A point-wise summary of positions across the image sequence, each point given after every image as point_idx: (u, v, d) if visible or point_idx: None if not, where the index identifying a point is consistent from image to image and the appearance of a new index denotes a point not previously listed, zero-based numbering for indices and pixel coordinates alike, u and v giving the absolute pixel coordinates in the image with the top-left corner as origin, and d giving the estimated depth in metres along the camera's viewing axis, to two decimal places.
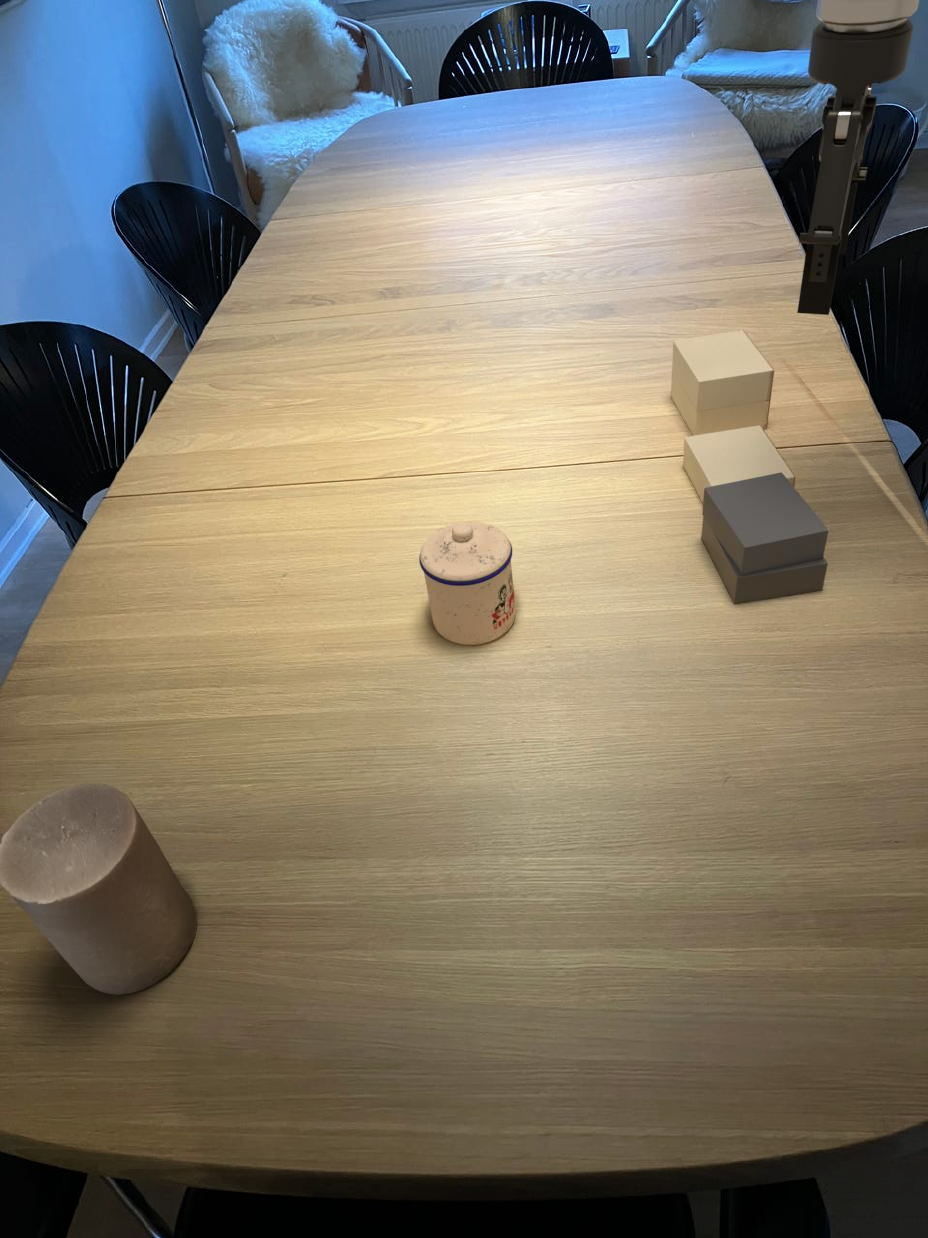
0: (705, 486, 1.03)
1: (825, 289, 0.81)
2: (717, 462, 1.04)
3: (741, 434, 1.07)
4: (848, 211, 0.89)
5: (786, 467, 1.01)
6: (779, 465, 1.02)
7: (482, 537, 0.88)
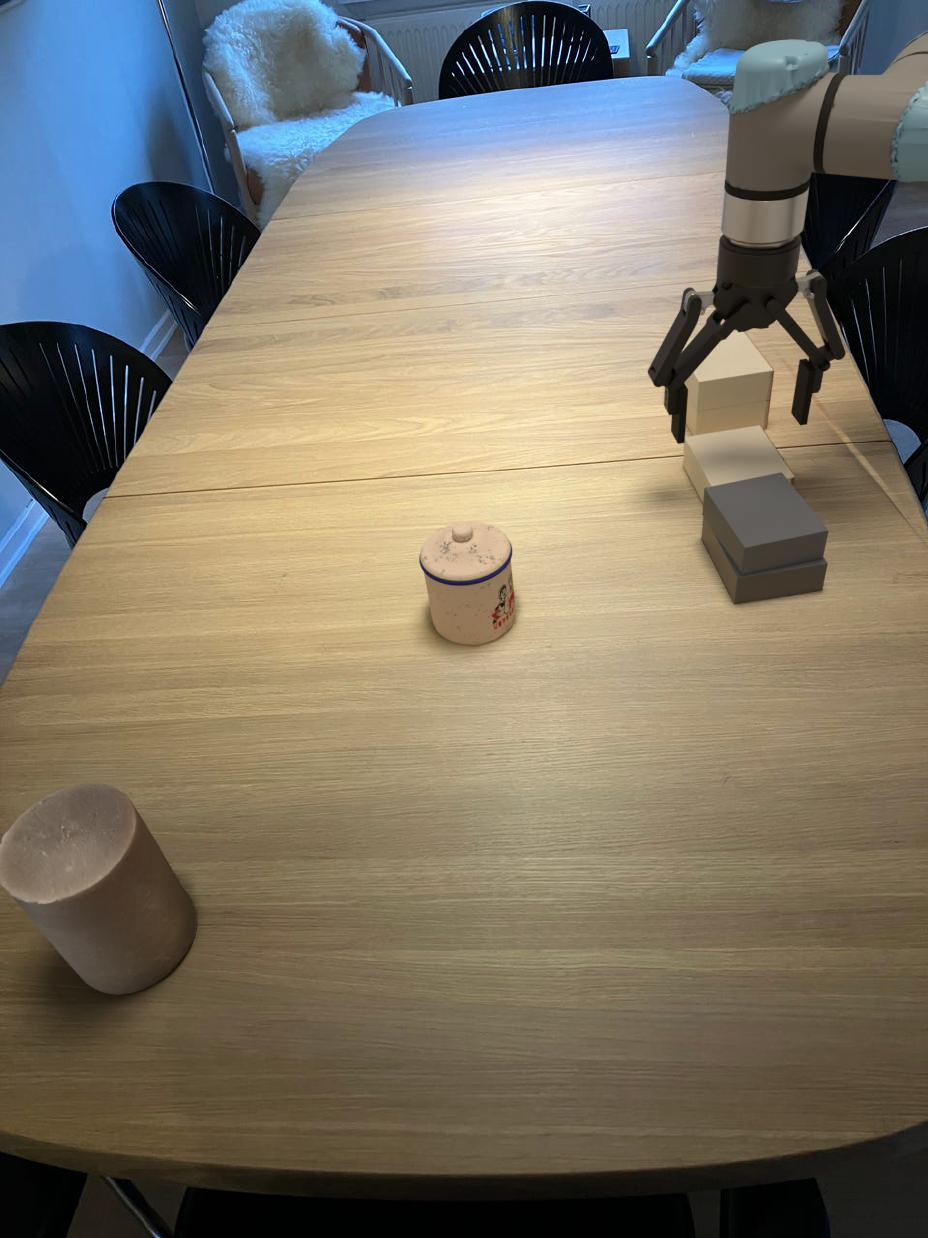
0: (705, 486, 1.03)
1: (677, 422, 1.00)
2: (717, 462, 1.04)
3: (741, 434, 1.07)
4: (804, 390, 0.98)
5: (786, 467, 1.01)
6: (779, 465, 1.02)
7: (482, 537, 0.88)
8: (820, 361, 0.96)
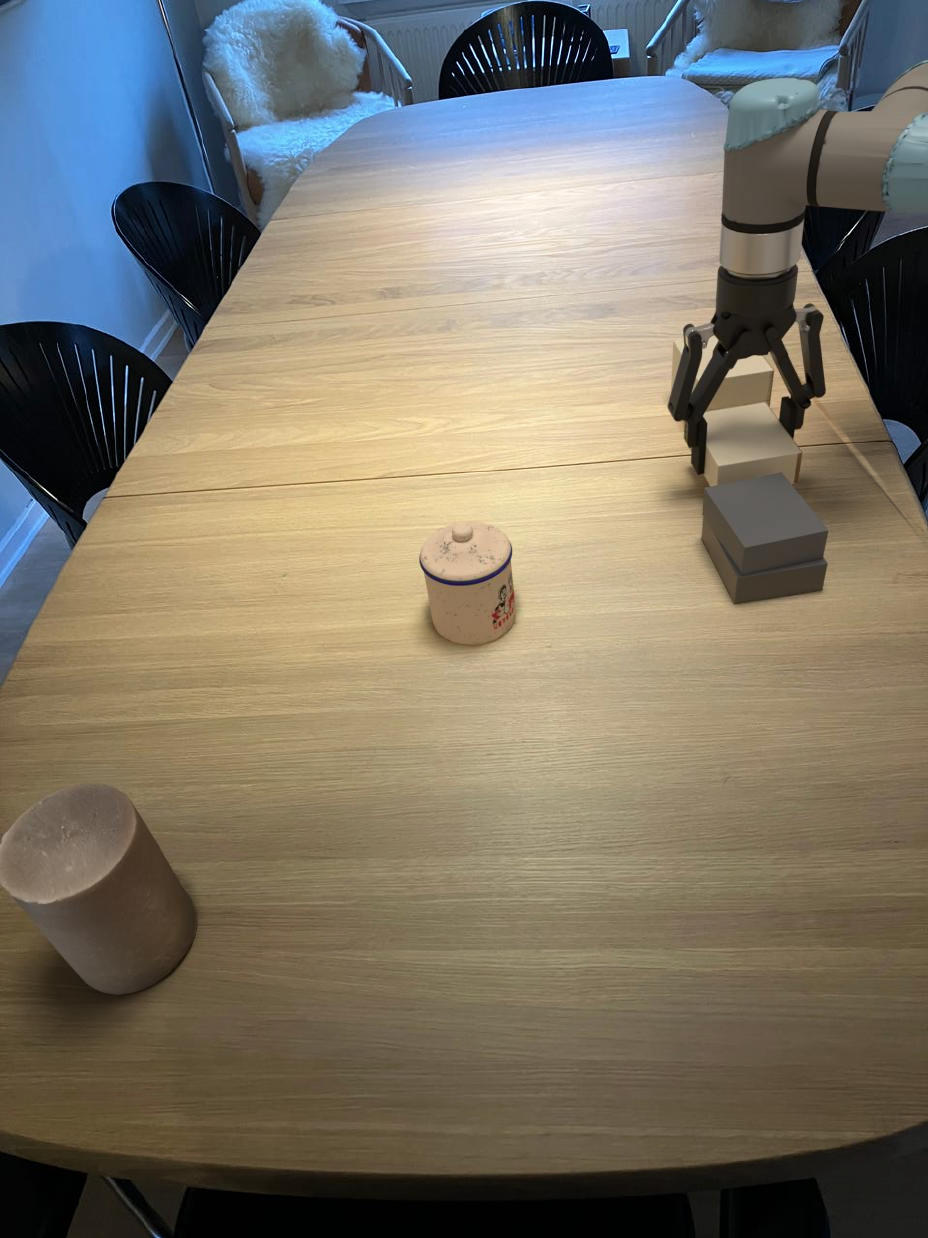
0: (710, 463, 1.00)
1: (697, 454, 1.02)
2: (722, 439, 1.01)
3: (747, 411, 1.05)
4: (787, 427, 1.01)
5: (793, 443, 0.99)
6: (785, 441, 1.00)
7: (482, 537, 0.88)
8: (802, 399, 0.98)
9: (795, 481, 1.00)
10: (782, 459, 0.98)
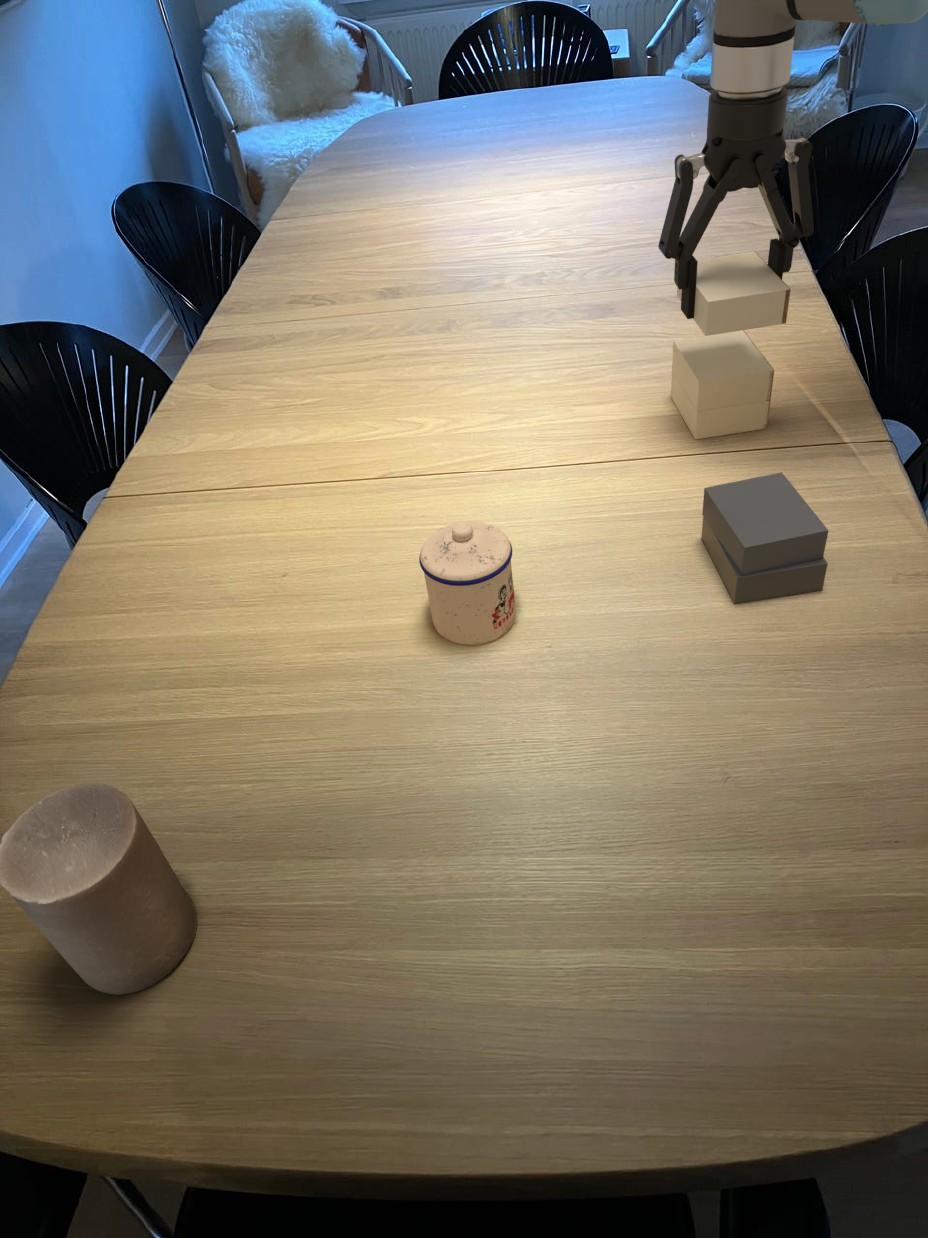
0: (699, 303, 1.02)
1: (687, 297, 1.04)
2: (712, 280, 1.03)
3: (736, 258, 1.06)
4: (775, 269, 1.02)
5: (781, 282, 1.01)
6: (774, 280, 1.01)
7: (482, 537, 0.88)
8: (790, 237, 1.00)
9: (783, 321, 1.02)
10: (770, 296, 1.00)
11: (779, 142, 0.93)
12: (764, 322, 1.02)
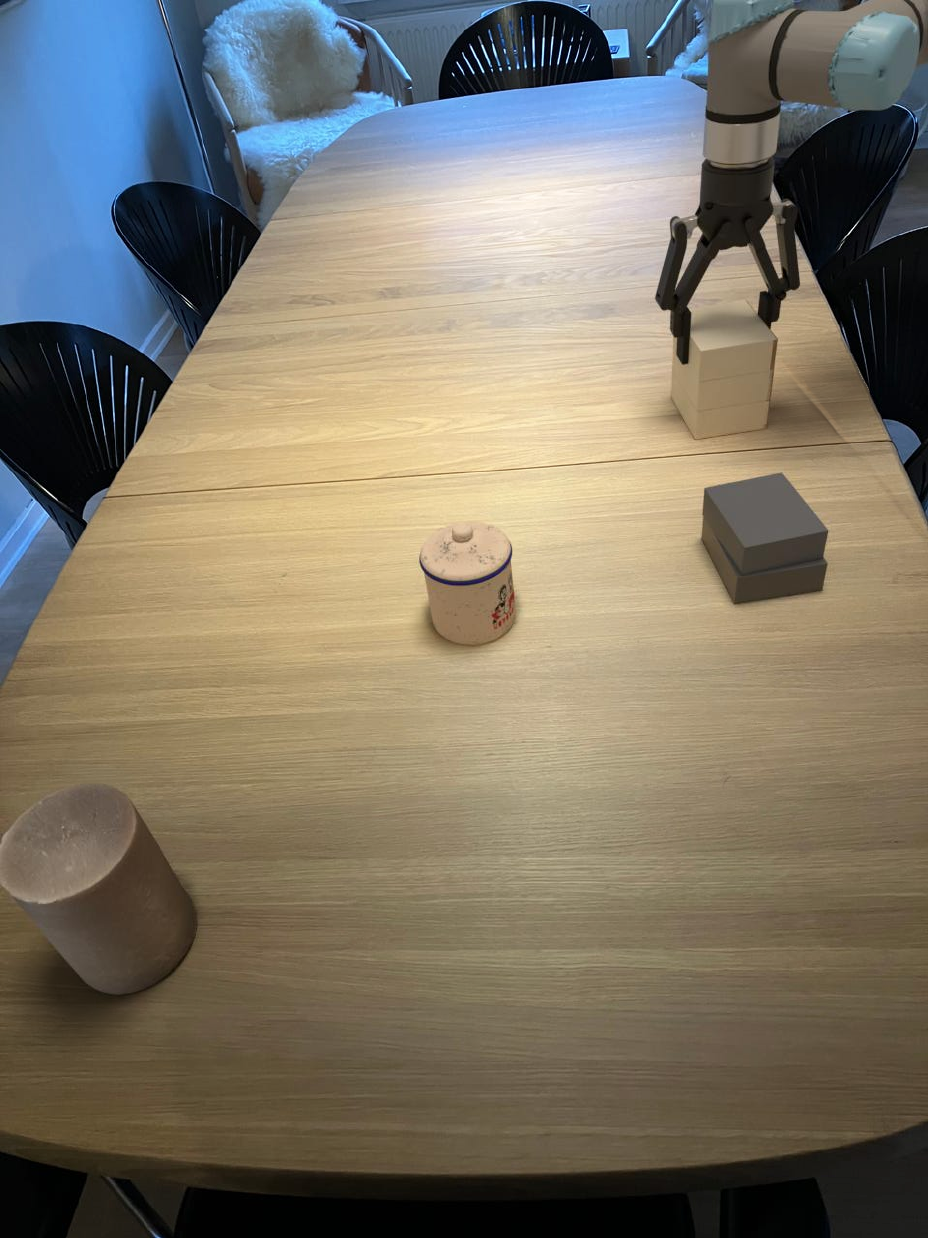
0: (693, 351, 1.09)
1: (681, 344, 1.11)
2: (705, 329, 1.10)
3: (728, 307, 1.13)
4: (764, 319, 1.10)
5: (769, 331, 1.08)
6: (763, 330, 1.08)
7: (482, 537, 0.88)
8: (778, 291, 1.07)
9: (771, 368, 1.09)
10: (759, 345, 1.07)
11: (767, 206, 1.01)
12: (753, 369, 1.09)
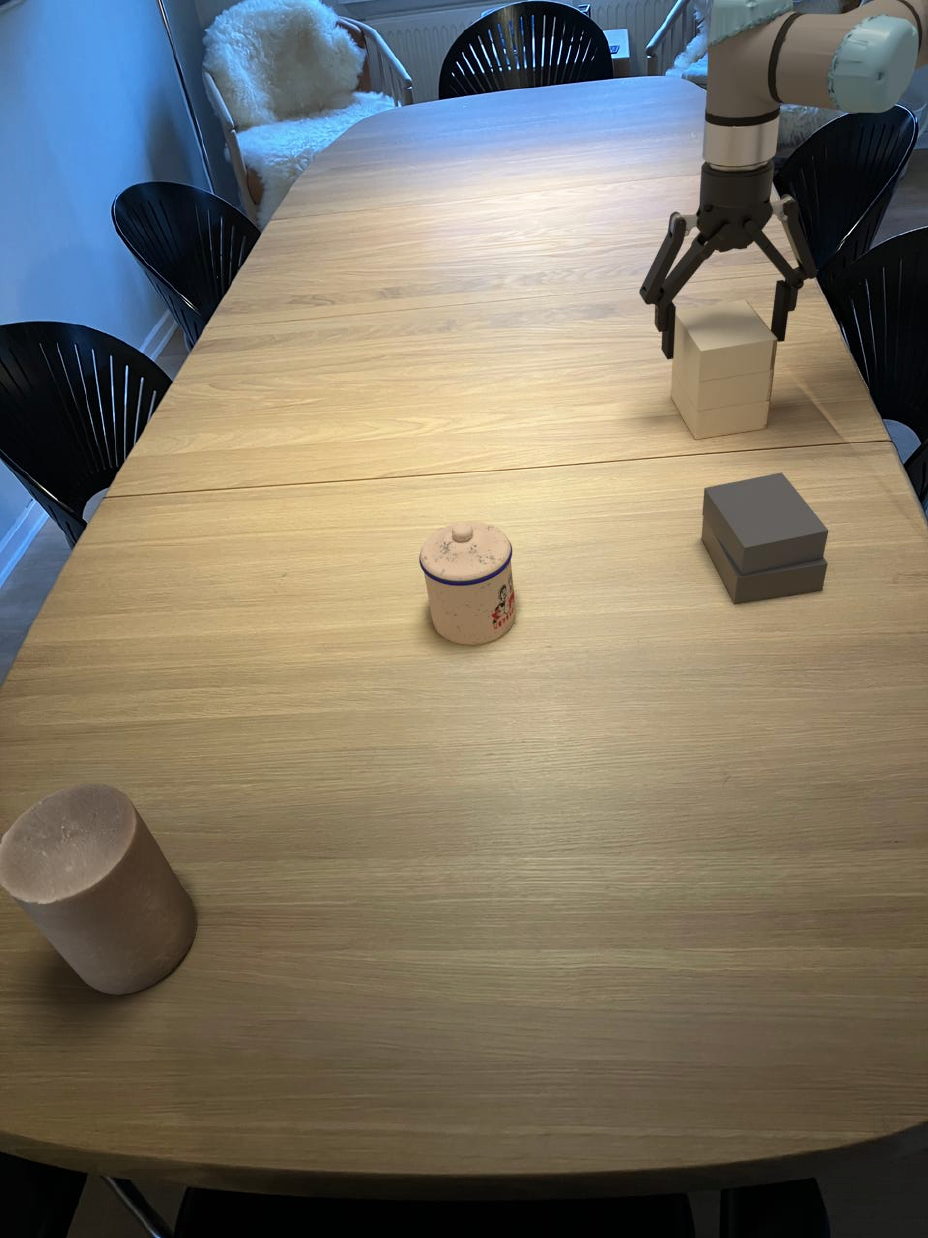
0: (693, 351, 1.09)
1: (666, 339, 1.10)
2: (705, 329, 1.10)
3: (728, 307, 1.13)
4: (781, 308, 1.09)
5: (769, 331, 1.08)
6: (762, 330, 1.08)
7: (482, 537, 0.88)
8: (794, 280, 1.06)
9: (771, 368, 1.09)
10: (759, 345, 1.07)
11: (766, 208, 1.01)
12: (753, 369, 1.09)
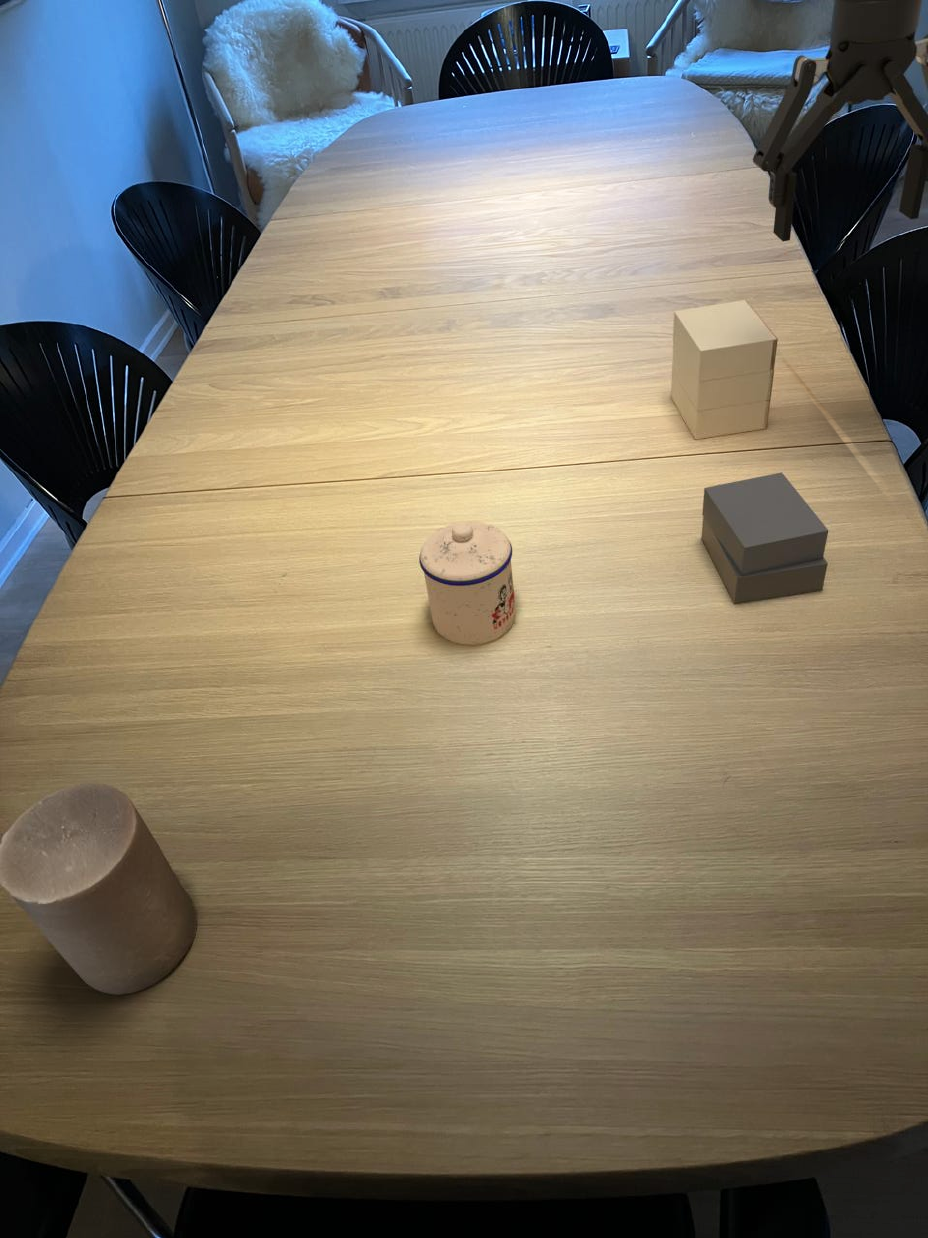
0: (693, 351, 1.09)
1: (782, 216, 0.95)
2: (705, 329, 1.10)
3: (728, 307, 1.13)
4: (917, 177, 0.94)
5: (769, 331, 1.08)
6: (762, 330, 1.08)
7: (482, 537, 0.88)
8: None
9: (771, 368, 1.09)
10: (759, 345, 1.07)
11: (910, 46, 0.86)
12: (753, 369, 1.09)
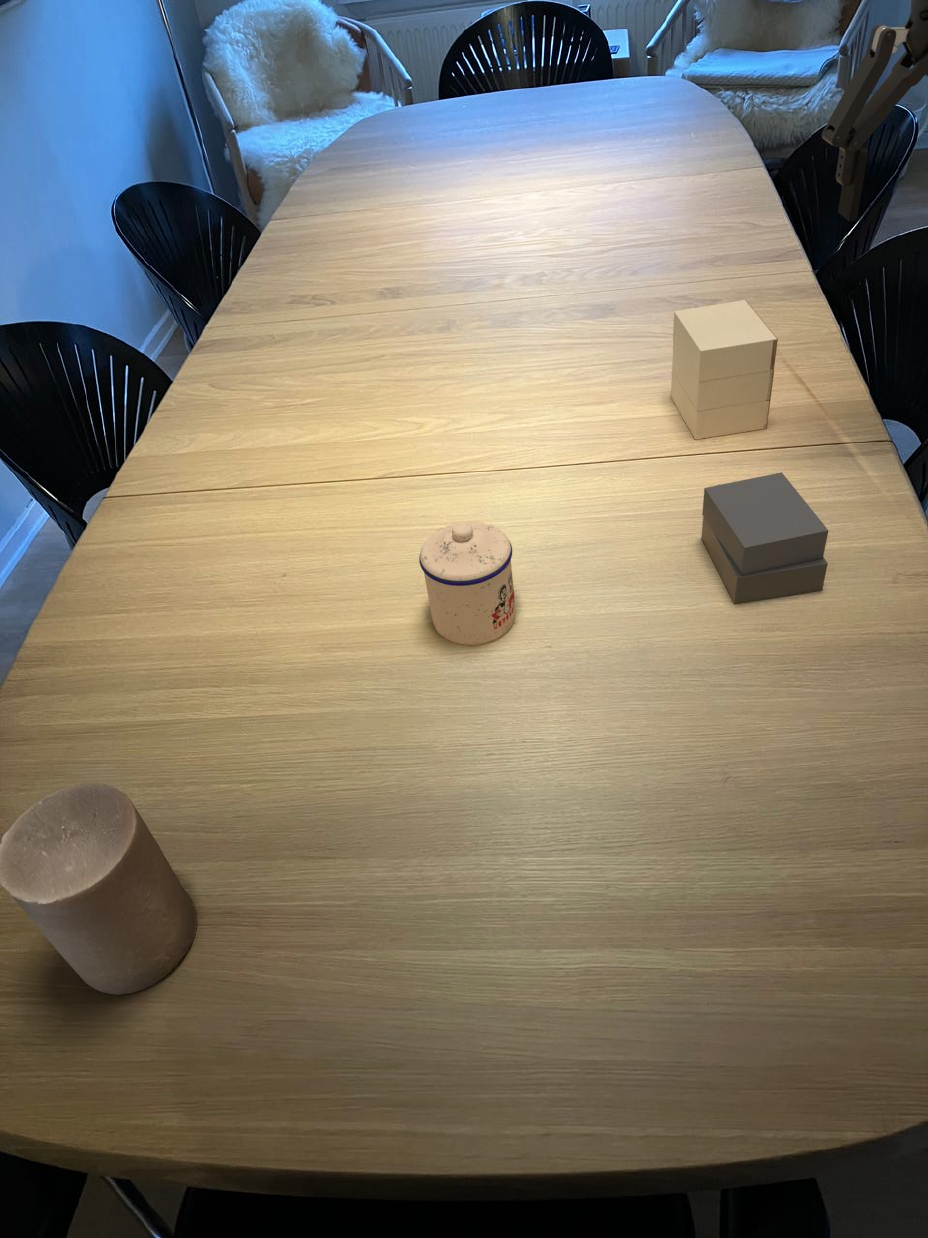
0: (693, 351, 1.09)
1: (850, 195, 0.91)
2: (705, 329, 1.10)
3: (728, 307, 1.13)
4: None
5: (769, 331, 1.08)
6: (762, 330, 1.08)
7: (482, 537, 0.88)
8: None
9: (771, 368, 1.09)
10: (759, 345, 1.07)
11: None
12: (753, 369, 1.09)
